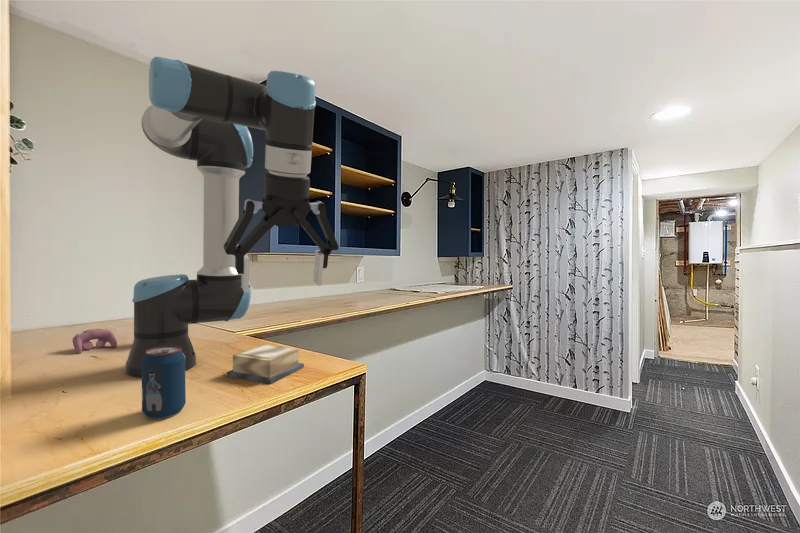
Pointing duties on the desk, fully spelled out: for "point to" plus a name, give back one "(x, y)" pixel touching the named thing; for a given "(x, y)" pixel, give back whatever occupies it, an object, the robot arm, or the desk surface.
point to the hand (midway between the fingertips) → (283, 286)
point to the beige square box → (265, 364)
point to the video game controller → (101, 334)
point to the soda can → (163, 382)
